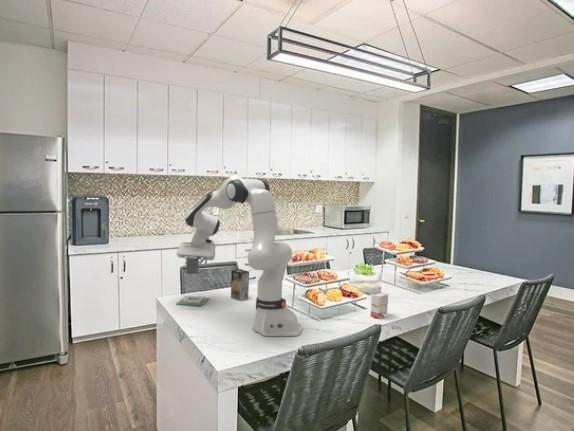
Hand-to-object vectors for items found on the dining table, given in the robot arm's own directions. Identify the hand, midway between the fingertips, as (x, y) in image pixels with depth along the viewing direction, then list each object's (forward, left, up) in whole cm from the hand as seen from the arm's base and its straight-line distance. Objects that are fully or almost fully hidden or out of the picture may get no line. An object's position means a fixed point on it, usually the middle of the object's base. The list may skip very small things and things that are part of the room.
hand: (192, 264), depth 192 cm
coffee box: (-20, -22, -23) cm, 37 cm away
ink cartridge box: (-97, -8, -23) cm, 100 cm away
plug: (0, -1, -4) cm, 4 cm away
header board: (+3, -10, -23) cm, 25 cm away
